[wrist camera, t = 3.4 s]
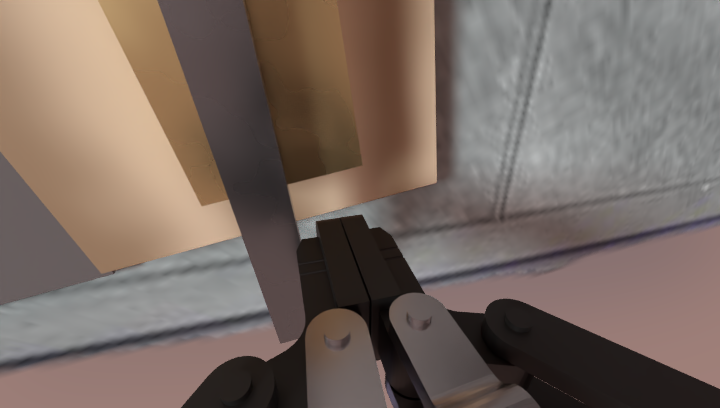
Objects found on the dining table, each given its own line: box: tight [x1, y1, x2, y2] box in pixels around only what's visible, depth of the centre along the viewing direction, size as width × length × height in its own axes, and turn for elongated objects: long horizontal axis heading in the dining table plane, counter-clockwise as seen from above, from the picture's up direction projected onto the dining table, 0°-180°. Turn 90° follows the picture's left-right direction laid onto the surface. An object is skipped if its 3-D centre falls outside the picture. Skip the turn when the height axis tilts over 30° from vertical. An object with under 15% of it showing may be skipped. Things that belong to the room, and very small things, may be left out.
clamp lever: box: [157, 0, 305, 343], centre depth 9 cm, size 18×3×6 cm, turn 5°
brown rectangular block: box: [98, 0, 363, 206], centre depth 9 cm, size 5×8×4 cm, turn 8°
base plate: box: [0, 0, 437, 274], centre depth 12 cm, size 16×16×3 cm
